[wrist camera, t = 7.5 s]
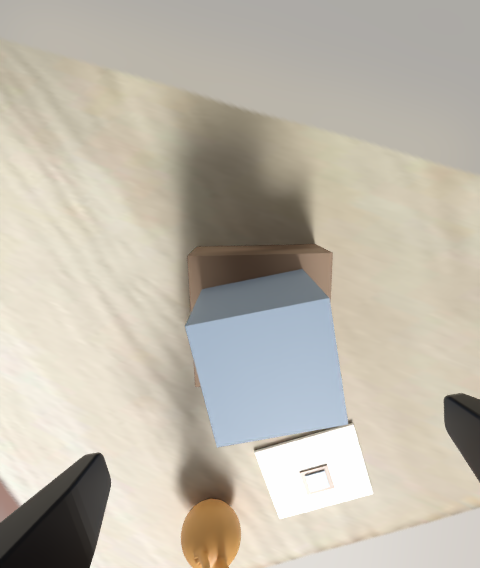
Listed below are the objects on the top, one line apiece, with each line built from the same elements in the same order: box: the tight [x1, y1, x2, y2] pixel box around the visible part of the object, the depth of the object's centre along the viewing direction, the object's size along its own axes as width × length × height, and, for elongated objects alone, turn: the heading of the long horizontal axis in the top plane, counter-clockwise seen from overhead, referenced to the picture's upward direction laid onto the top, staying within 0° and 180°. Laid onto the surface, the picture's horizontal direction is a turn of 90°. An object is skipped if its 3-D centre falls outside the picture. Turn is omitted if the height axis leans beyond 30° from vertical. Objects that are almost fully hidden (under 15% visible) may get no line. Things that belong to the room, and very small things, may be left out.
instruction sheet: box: [254, 423, 373, 519], centre depth 23 cm, size 7×6×1 cm
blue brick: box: [185, 269, 348, 447], centre depth 14 cm, size 5×5×5 cm
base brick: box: [187, 244, 333, 387], centre depth 18 cm, size 7×7×4 cm
